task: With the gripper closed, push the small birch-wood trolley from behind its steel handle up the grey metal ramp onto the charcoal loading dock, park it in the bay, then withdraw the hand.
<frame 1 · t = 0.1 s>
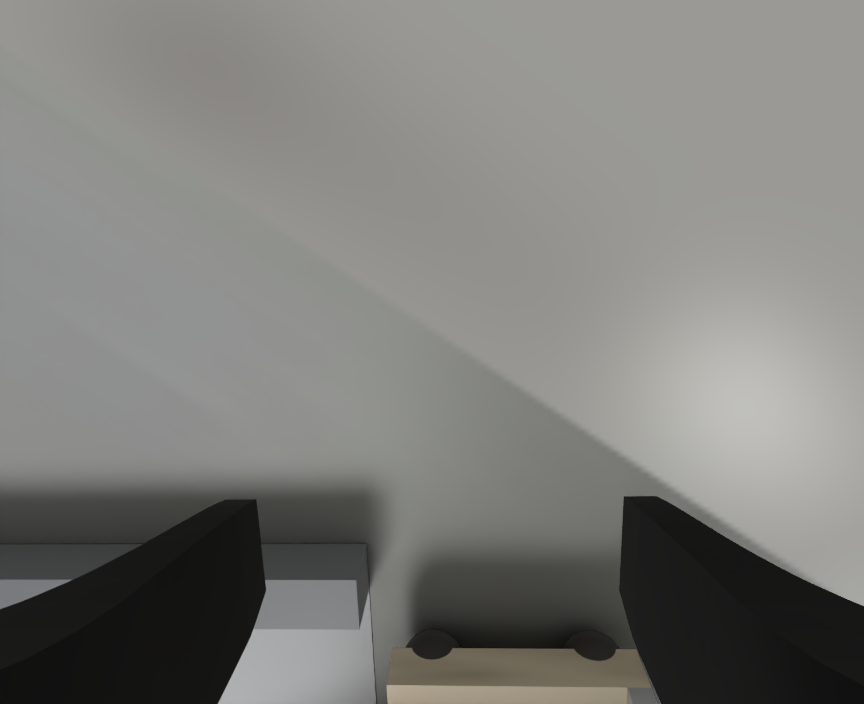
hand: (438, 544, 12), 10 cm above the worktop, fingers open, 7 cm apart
trolley: (509, 697, 24), on the worktop
loading dock: (162, 693, 25), on the worktop
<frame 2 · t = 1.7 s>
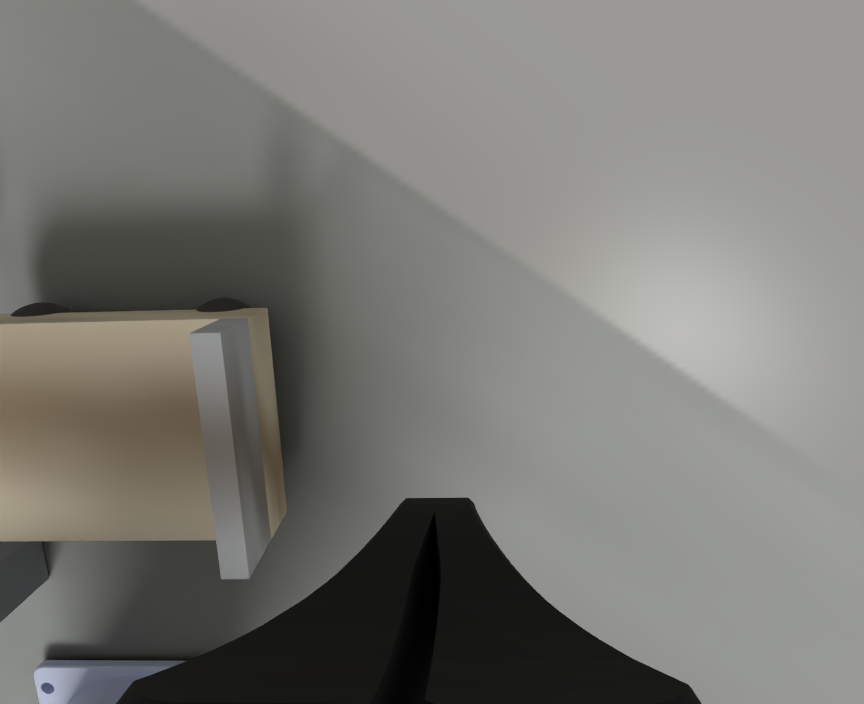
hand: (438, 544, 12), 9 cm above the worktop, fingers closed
trolley: (163, 402, 21), on the worktop
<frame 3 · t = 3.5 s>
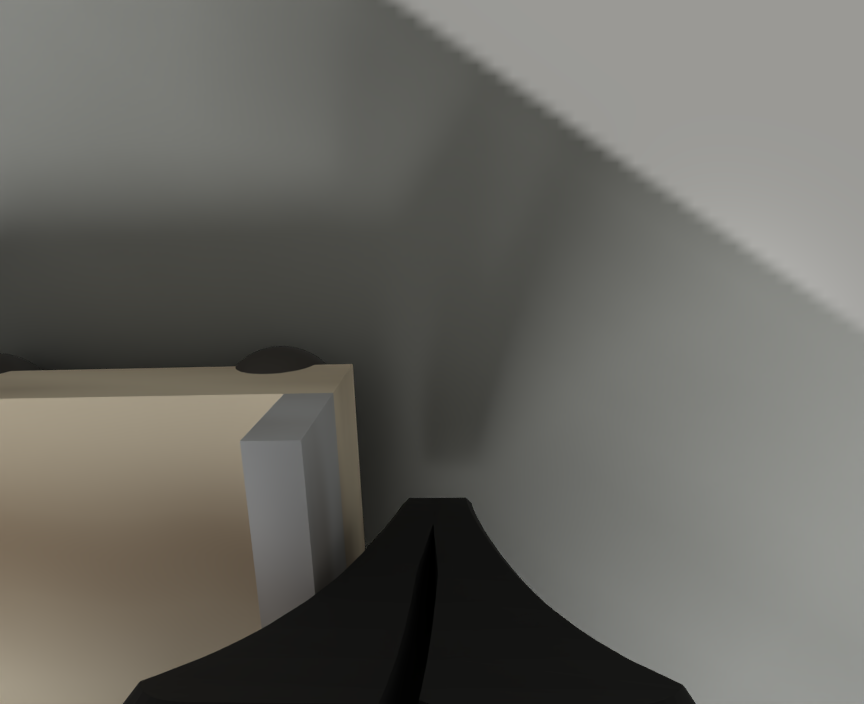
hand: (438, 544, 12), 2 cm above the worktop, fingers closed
trolley: (179, 499, 14), on the worktop, touching gripper
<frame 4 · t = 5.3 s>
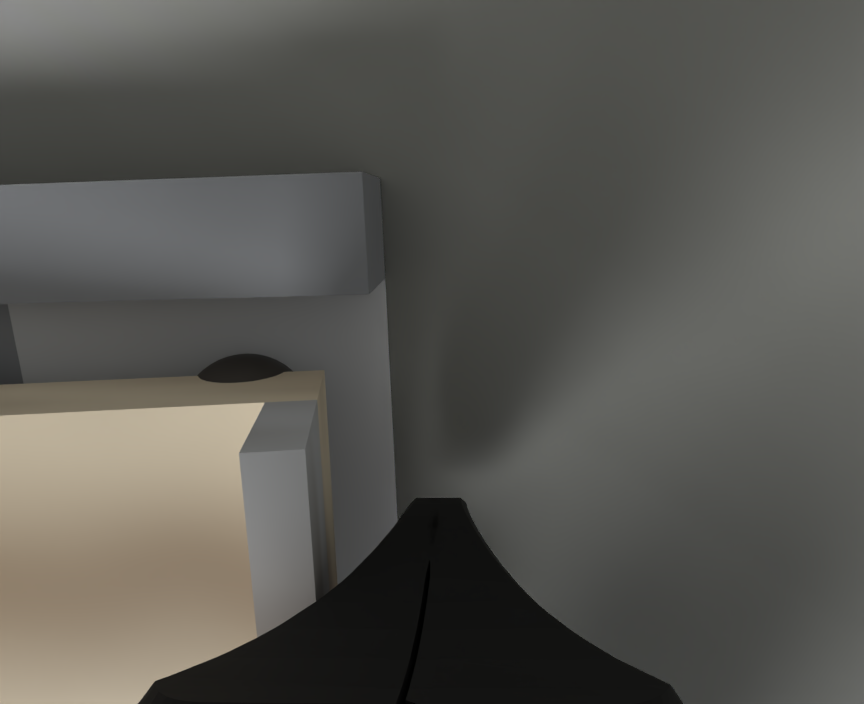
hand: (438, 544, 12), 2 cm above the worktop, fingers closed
trolley: (125, 520, 13), point 1 cm above the worktop, tilted 9°, touching gripper, loading dock
loading dock: (13, 502, 14), on the worktop
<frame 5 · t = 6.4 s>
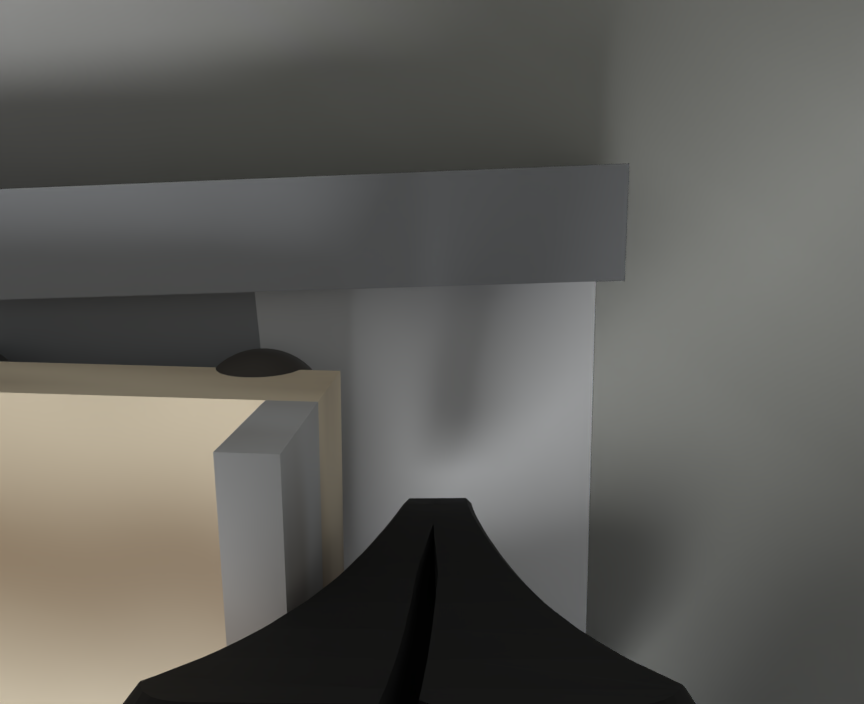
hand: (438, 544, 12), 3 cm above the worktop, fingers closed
trolley: (150, 503, 13), point 2 cm above the worktop, touching gripper
loading dock: (215, 485, 15), on the worktop
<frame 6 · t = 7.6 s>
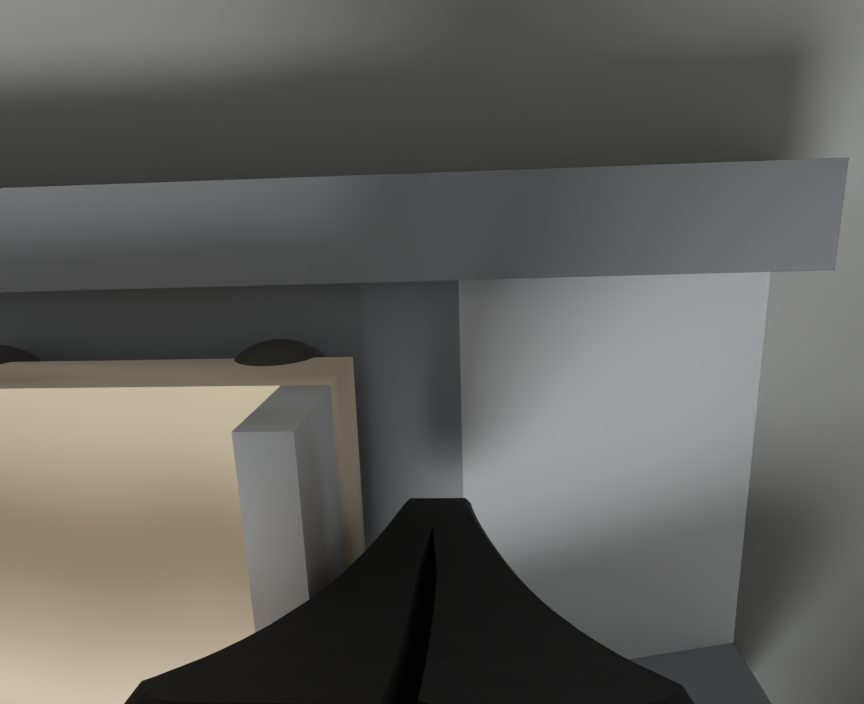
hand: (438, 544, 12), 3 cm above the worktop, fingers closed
trolley: (179, 493, 14), point 2 cm above the worktop, touching gripper, loading dock
loading dock: (383, 470, 15), on the worktop
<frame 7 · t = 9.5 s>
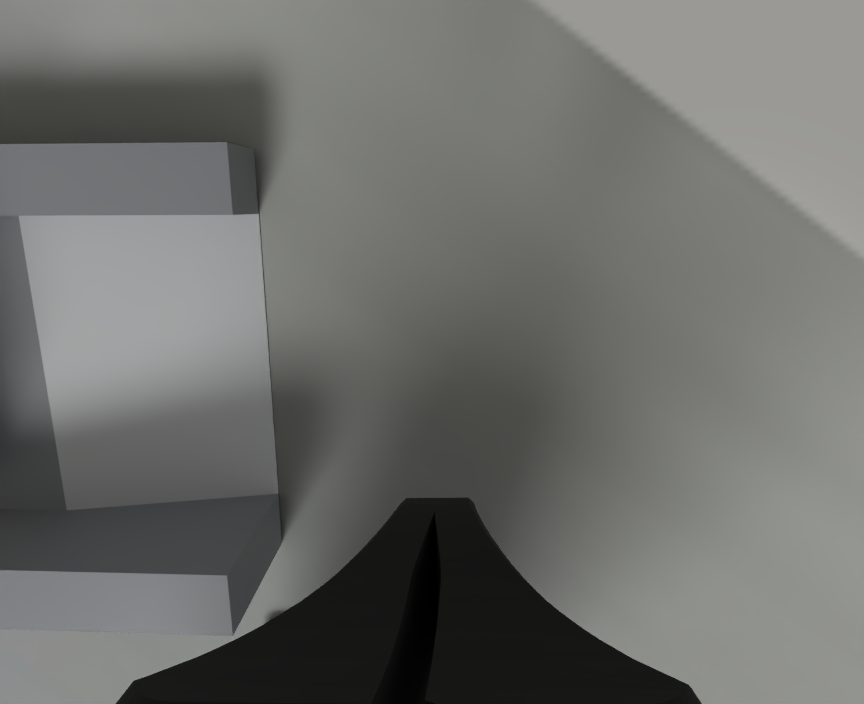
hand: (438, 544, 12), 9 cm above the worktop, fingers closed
loading dock: (17, 359, 21), on the worktop
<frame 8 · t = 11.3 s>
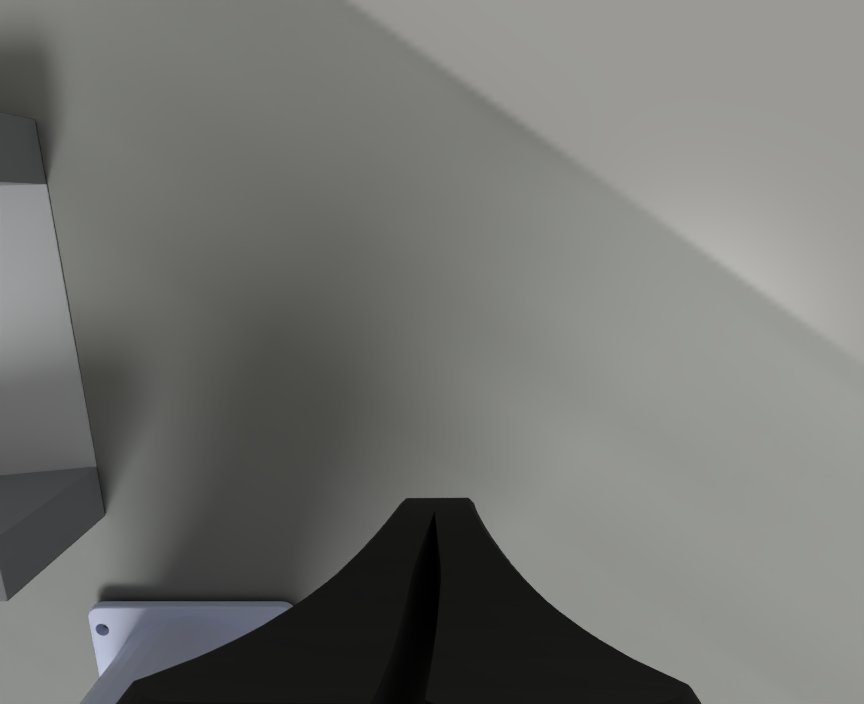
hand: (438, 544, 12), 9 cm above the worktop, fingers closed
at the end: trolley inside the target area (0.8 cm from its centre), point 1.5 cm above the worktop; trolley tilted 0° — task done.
